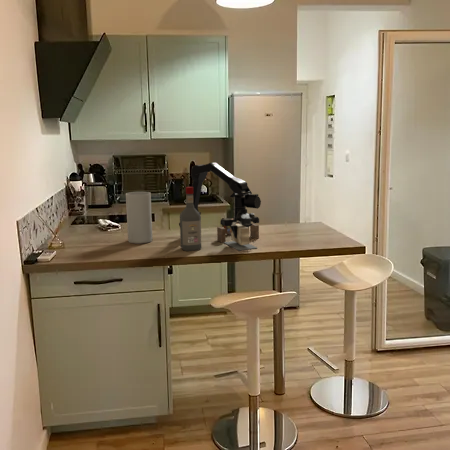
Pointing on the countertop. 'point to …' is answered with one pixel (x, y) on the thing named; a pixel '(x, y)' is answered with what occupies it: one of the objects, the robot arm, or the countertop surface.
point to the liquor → (190, 225)
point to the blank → (241, 235)
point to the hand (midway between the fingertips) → (240, 238)
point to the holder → (253, 233)
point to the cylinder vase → (139, 217)
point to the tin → (228, 229)
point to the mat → (240, 246)
